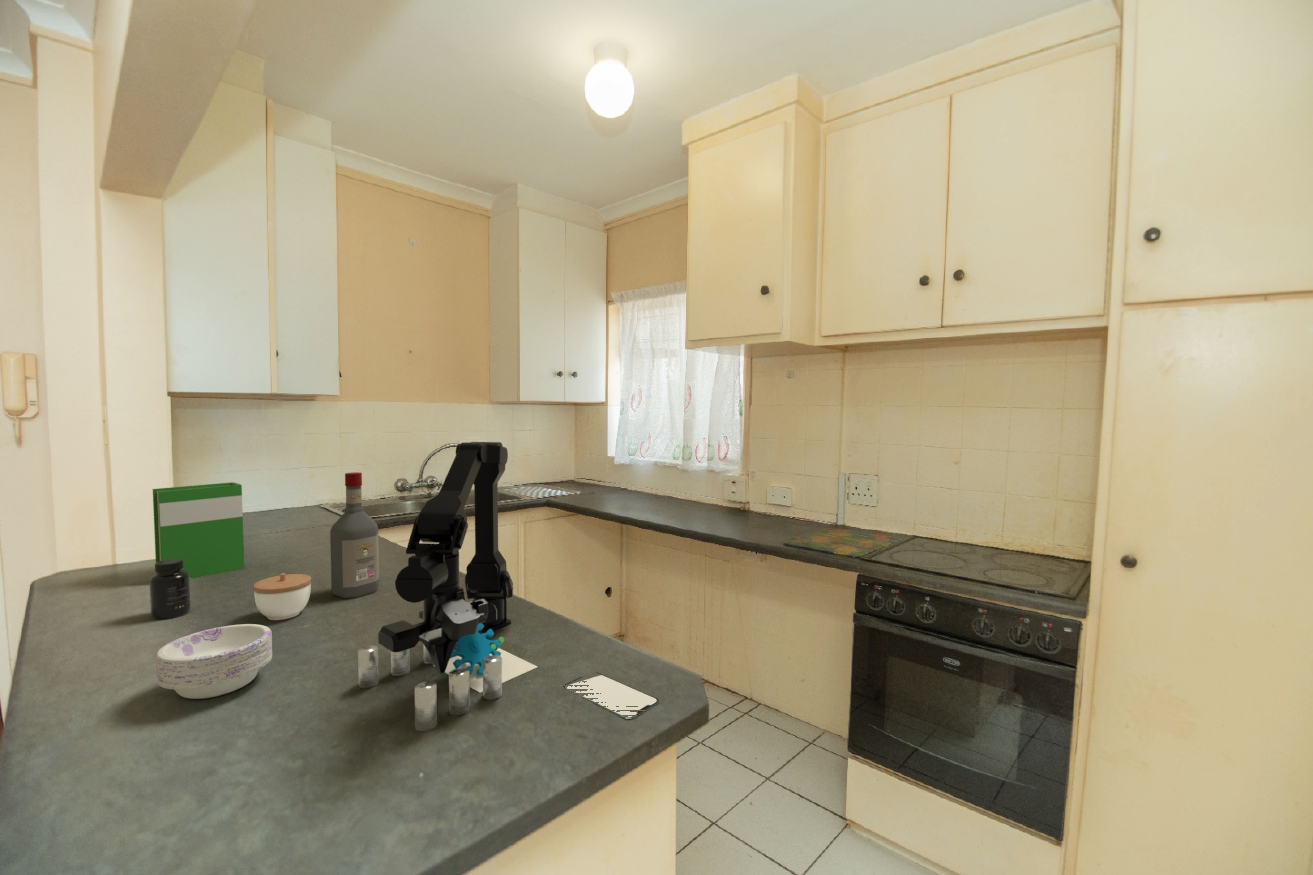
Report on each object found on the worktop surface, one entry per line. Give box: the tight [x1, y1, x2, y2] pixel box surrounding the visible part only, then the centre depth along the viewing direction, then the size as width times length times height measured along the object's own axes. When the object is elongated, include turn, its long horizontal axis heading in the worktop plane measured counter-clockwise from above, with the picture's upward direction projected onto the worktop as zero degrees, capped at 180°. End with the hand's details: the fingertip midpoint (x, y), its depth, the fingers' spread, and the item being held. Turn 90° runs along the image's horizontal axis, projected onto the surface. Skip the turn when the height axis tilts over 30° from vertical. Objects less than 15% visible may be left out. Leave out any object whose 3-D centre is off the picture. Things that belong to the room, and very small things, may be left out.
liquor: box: [329, 471, 380, 599], centre depth 140 cm, size 9×9×30 cm
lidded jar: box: [252, 572, 312, 621], centre depth 125 cm, size 11×11×9 cm
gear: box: [450, 623, 505, 675], centre depth 102 cm, size 11×6×10 cm
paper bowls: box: [155, 623, 273, 700], centre depth 94 cm, size 15×15×8 cm
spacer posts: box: [357, 643, 503, 732], centre depth 94 cm, size 14×22×6 cm, turn 51°
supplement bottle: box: [148, 559, 192, 620], centre depth 125 cm, size 7×7×12 cm
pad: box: [432, 647, 538, 694], centre depth 102 cm, size 12×15×1 cm
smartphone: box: [563, 671, 660, 720], centre depth 93 cm, size 8×1×16 cm
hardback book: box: [152, 481, 245, 579], centre depth 154 cm, size 18×7×24 cm, turn 141°
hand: (441, 672), depth 95 cm, fingers closed
